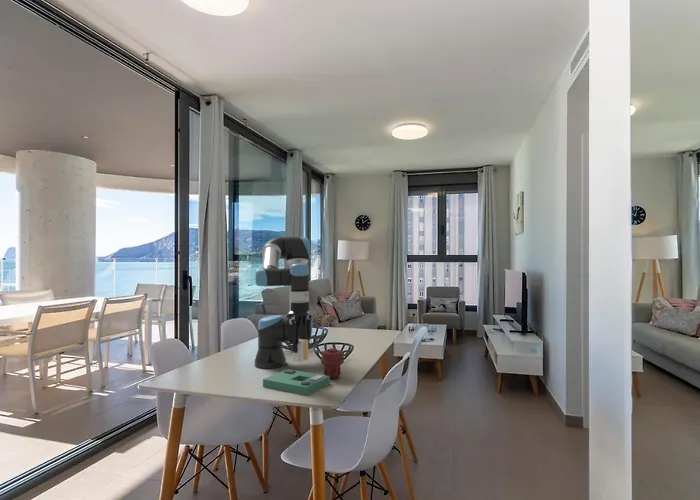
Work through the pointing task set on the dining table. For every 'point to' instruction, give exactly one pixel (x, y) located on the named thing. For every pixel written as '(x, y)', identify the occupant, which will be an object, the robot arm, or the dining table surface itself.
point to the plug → (303, 350)
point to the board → (296, 381)
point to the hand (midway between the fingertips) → (300, 358)
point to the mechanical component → (332, 362)
